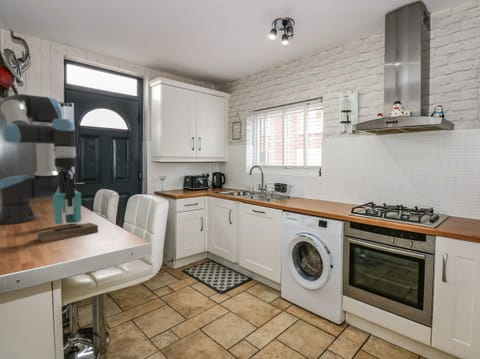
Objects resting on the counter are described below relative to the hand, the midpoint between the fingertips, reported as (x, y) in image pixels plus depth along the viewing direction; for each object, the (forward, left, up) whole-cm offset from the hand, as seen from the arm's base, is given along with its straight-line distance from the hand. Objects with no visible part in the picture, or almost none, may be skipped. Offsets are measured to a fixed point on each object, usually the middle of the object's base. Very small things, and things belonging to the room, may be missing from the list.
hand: (68, 213), depth 113 cm
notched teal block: (0, 0, -4) cm, 4 cm away
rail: (0, 0, -9) cm, 9 cm away
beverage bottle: (-20, +8, -10) cm, 24 cm away
